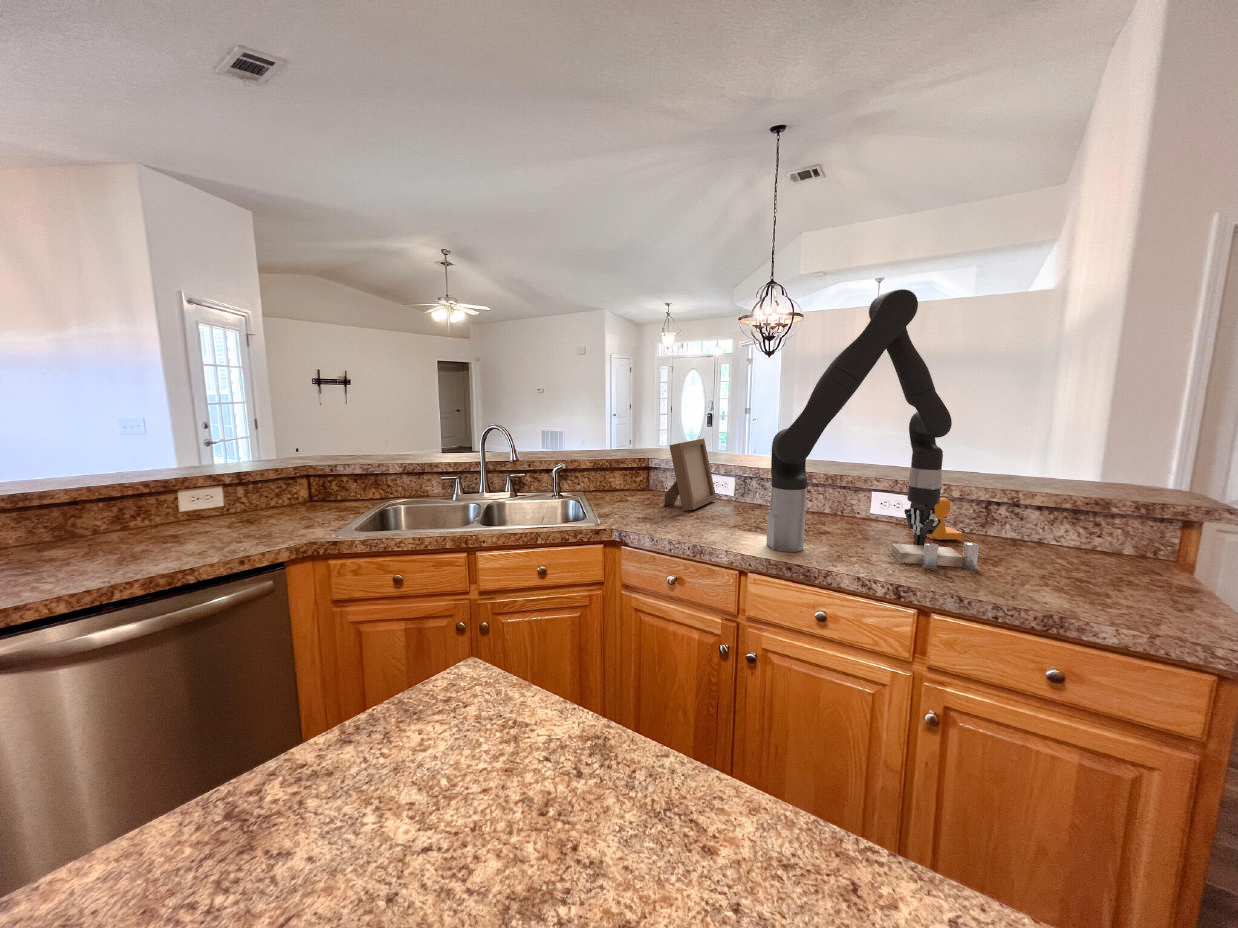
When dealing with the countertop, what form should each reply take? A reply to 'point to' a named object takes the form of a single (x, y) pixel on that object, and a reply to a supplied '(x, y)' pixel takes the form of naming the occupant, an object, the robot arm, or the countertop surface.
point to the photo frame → (691, 475)
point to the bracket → (943, 522)
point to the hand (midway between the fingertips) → (919, 547)
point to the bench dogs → (968, 555)
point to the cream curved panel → (917, 551)
